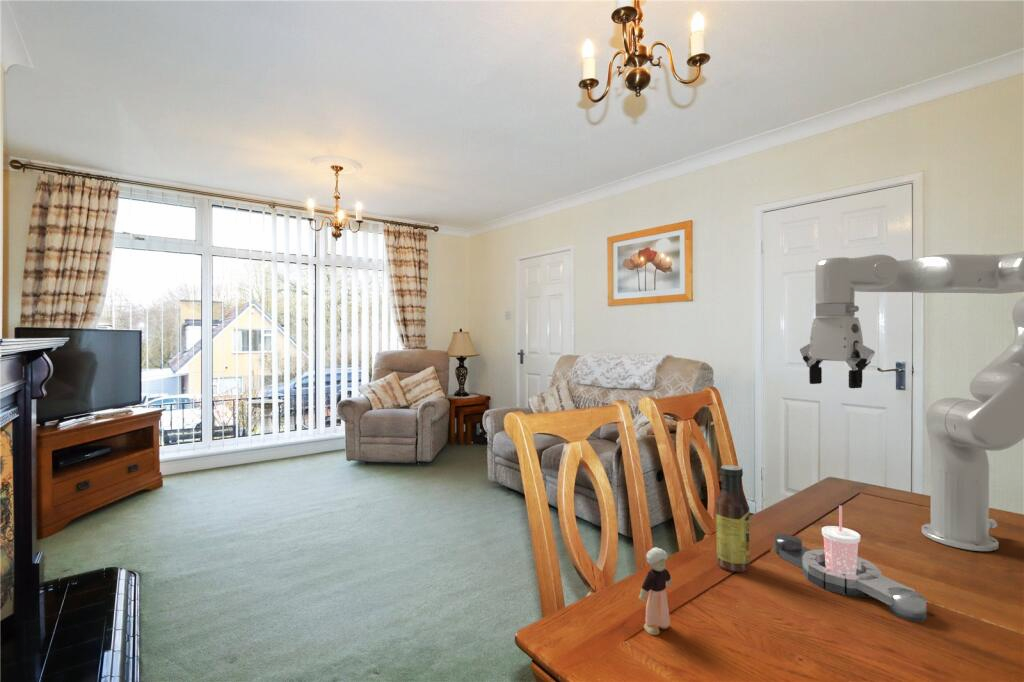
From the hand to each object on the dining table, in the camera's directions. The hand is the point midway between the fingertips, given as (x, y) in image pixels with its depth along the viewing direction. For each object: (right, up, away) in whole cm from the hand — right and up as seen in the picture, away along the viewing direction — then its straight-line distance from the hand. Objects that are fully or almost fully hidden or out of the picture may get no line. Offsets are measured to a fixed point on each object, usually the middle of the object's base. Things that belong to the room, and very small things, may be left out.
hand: (834, 385), depth 111 cm
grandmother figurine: (-51, -36, -34) cm, 71 cm away
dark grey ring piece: (-14, -35, -17) cm, 41 cm away
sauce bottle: (-30, -35, -15) cm, 49 cm away
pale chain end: (-11, -35, -24) cm, 44 cm away
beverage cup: (-13, -35, -20) cm, 42 cm away
